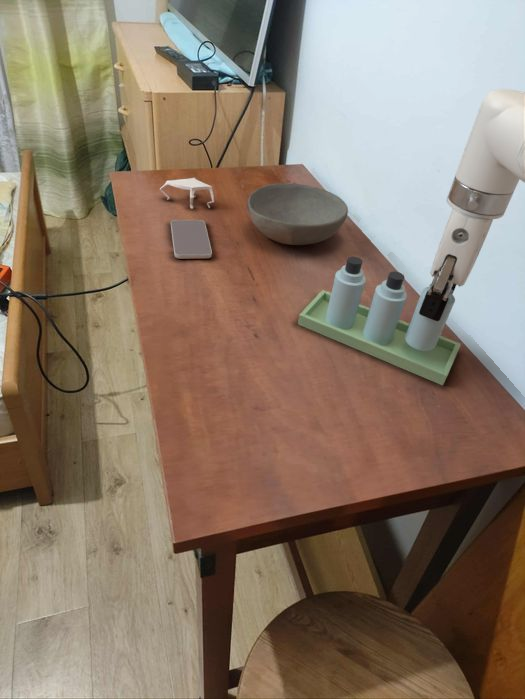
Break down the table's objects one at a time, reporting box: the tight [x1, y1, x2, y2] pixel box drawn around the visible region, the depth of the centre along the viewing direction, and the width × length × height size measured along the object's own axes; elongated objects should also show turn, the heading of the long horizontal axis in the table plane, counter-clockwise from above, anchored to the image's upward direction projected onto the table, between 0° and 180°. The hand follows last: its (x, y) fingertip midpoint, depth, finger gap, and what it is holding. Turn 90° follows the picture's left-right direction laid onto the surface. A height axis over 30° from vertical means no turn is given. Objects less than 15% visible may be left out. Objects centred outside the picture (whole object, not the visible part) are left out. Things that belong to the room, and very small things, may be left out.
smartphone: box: [170, 219, 213, 260], centre depth 105 cm, size 7×1×15 cm
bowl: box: [247, 182, 349, 246], centre depth 109 cm, size 21×21×8 cm
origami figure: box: [159, 177, 215, 210], centre depth 117 cm, size 12×8×5 cm
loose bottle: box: [405, 276, 456, 351], centre depth 79 cm, size 5×5×12 cm
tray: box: [297, 289, 462, 387], centre depth 86 cm, size 26×10×2 cm, turn 60°
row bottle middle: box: [363, 270, 408, 345], centre depth 83 cm, size 5×5×12 cm
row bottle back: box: [326, 256, 367, 329], centre depth 85 cm, size 5×5×12 cm
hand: (434, 307), depth 78 cm, fingers closed on loose bottle, 5 cm apart
